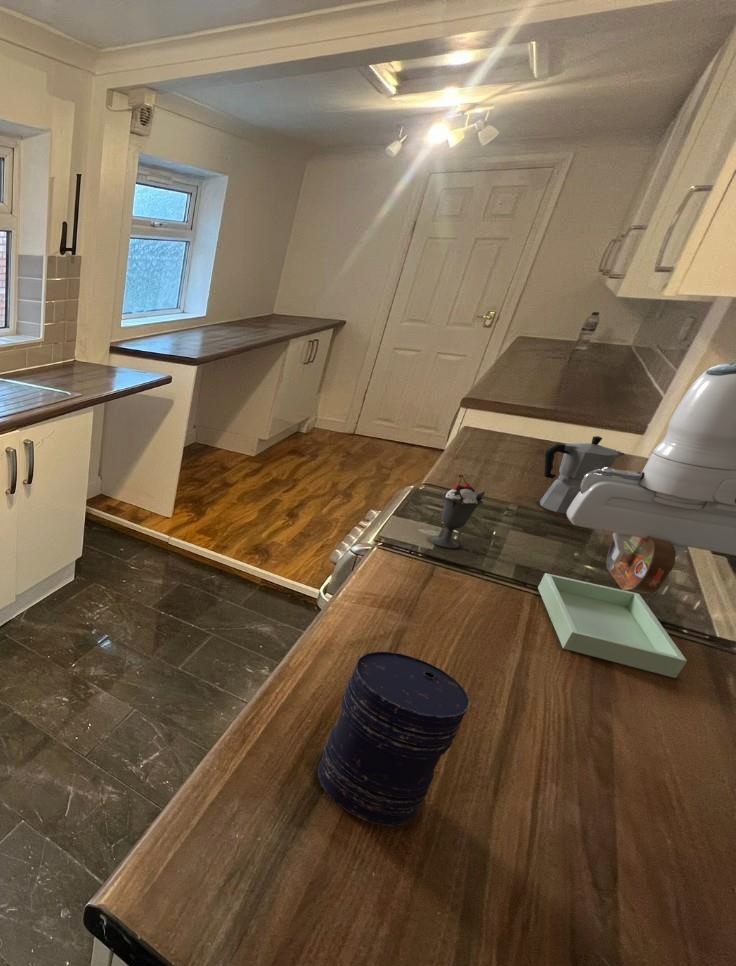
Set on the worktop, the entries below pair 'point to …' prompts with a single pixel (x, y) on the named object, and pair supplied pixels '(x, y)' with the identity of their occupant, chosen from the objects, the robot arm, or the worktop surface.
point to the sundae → (457, 511)
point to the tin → (643, 564)
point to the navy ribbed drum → (390, 736)
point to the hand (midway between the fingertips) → (635, 564)
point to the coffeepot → (574, 471)
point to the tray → (609, 625)
